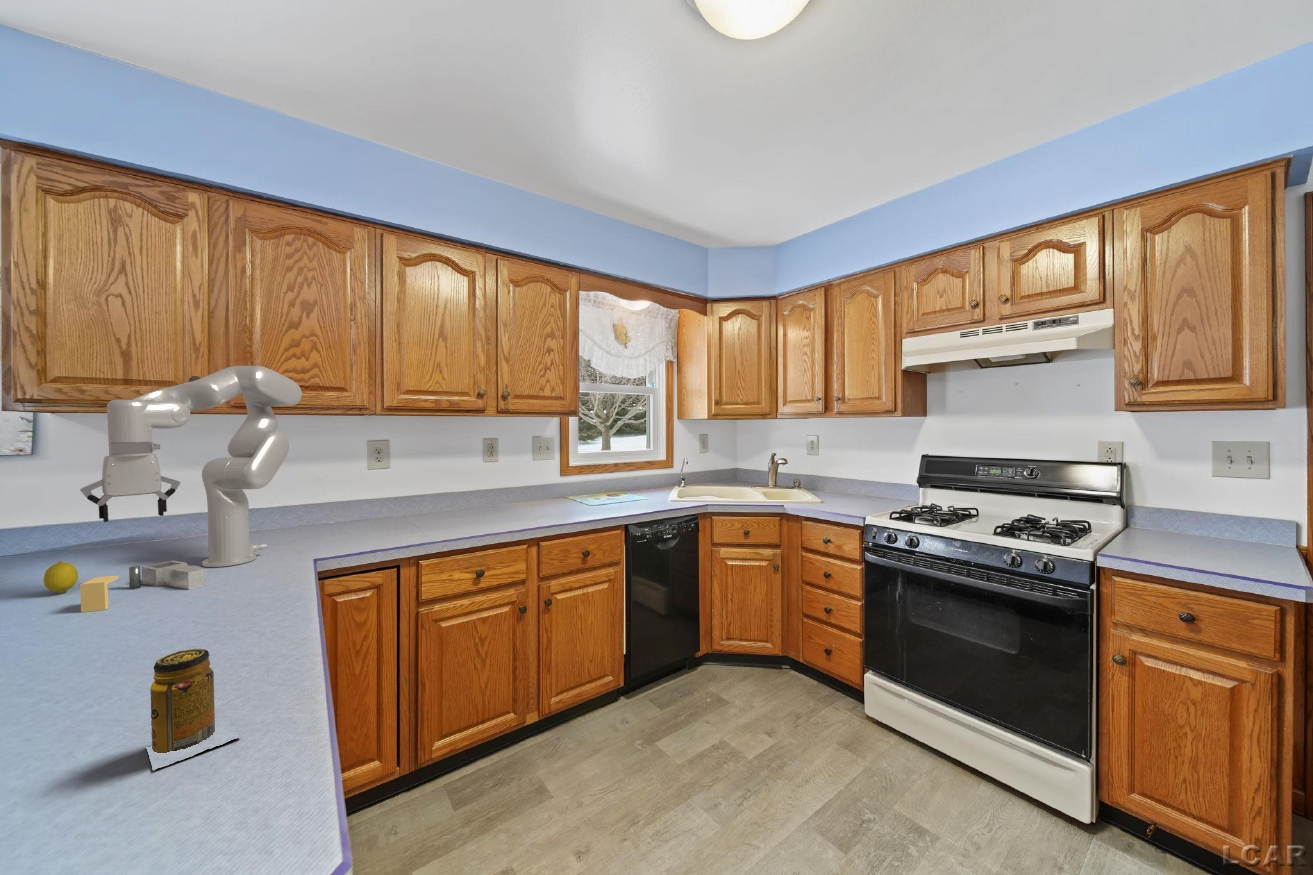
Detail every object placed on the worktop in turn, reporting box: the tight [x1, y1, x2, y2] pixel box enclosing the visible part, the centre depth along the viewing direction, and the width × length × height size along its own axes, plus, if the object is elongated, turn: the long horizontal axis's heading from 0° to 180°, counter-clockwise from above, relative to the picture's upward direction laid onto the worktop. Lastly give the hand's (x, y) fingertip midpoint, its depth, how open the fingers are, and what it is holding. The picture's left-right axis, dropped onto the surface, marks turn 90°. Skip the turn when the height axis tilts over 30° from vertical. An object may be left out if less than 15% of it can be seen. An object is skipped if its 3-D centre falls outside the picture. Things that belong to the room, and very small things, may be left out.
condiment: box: [149, 648, 216, 753], centre depth 67 cm, size 7×8×12 cm
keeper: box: [79, 575, 119, 613], centre depth 117 cm, size 6×4×6 cm
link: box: [141, 560, 206, 590], centre depth 134 cm, size 18×7×4 cm, turn 68°
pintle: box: [128, 565, 142, 590], centre depth 130 cm, size 2×2×6 cm
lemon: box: [43, 561, 79, 595], centre depth 126 cm, size 6×6×8 cm
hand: (134, 518), depth 127 cm, fingers open, 9 cm apart
